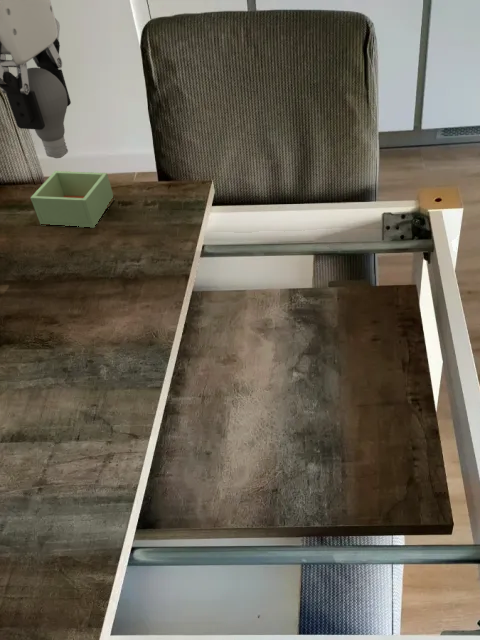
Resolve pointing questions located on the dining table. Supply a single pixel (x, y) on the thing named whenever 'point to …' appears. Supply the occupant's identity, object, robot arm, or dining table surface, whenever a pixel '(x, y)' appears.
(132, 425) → the dining table surface
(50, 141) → the light bulb
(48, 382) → the dining table surface
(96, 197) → the box
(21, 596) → the dining table surface
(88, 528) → the dining table surface
